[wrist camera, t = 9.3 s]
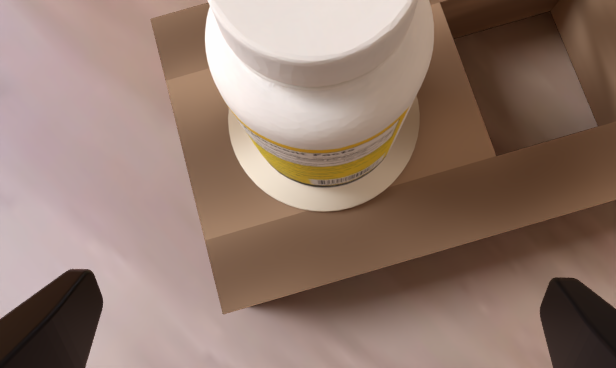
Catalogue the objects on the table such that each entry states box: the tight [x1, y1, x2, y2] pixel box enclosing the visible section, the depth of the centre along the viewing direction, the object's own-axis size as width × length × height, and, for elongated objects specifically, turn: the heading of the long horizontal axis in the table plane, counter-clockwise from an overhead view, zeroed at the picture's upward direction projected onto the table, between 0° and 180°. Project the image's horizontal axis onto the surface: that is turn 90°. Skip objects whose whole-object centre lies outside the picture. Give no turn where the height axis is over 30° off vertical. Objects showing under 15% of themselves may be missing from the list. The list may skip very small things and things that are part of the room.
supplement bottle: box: [205, 0, 434, 188], centre depth 13 cm, size 5×5×10 cm
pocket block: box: [151, 0, 616, 314], centre depth 20 cm, size 12×20×4 cm, turn 105°
